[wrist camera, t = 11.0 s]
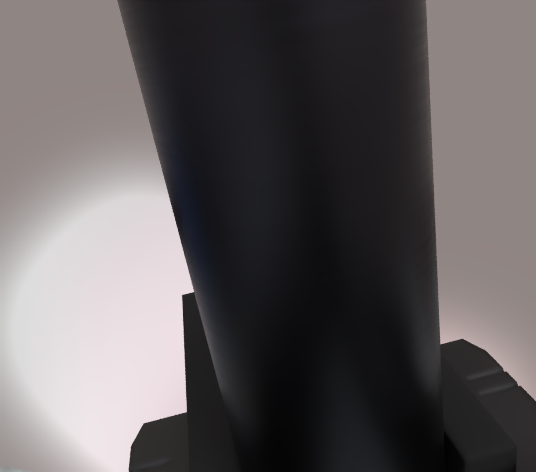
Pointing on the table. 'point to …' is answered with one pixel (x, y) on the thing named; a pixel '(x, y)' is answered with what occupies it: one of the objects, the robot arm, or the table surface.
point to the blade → (305, 219)
